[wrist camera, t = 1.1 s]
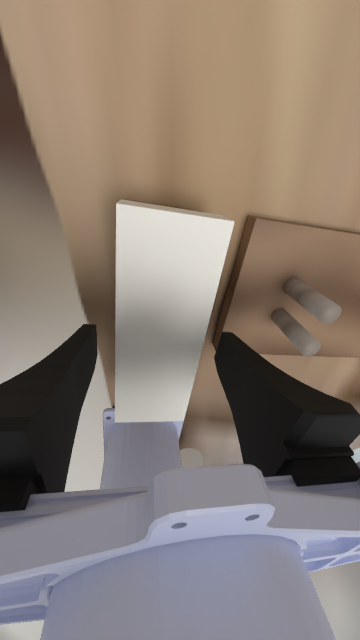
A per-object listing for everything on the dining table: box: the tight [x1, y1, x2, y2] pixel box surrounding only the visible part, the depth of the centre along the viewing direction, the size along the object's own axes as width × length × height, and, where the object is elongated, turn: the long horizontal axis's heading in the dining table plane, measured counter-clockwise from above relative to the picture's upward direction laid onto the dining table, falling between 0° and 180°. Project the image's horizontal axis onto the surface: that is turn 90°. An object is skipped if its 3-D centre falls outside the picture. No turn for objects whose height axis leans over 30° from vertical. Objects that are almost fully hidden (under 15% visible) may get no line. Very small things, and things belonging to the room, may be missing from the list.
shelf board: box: [115, 199, 235, 423], centre depth 14 cm, size 14×5×2 cm, turn 171°
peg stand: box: [213, 216, 360, 358], centre depth 16 cm, size 10×18×5 cm, turn 81°
